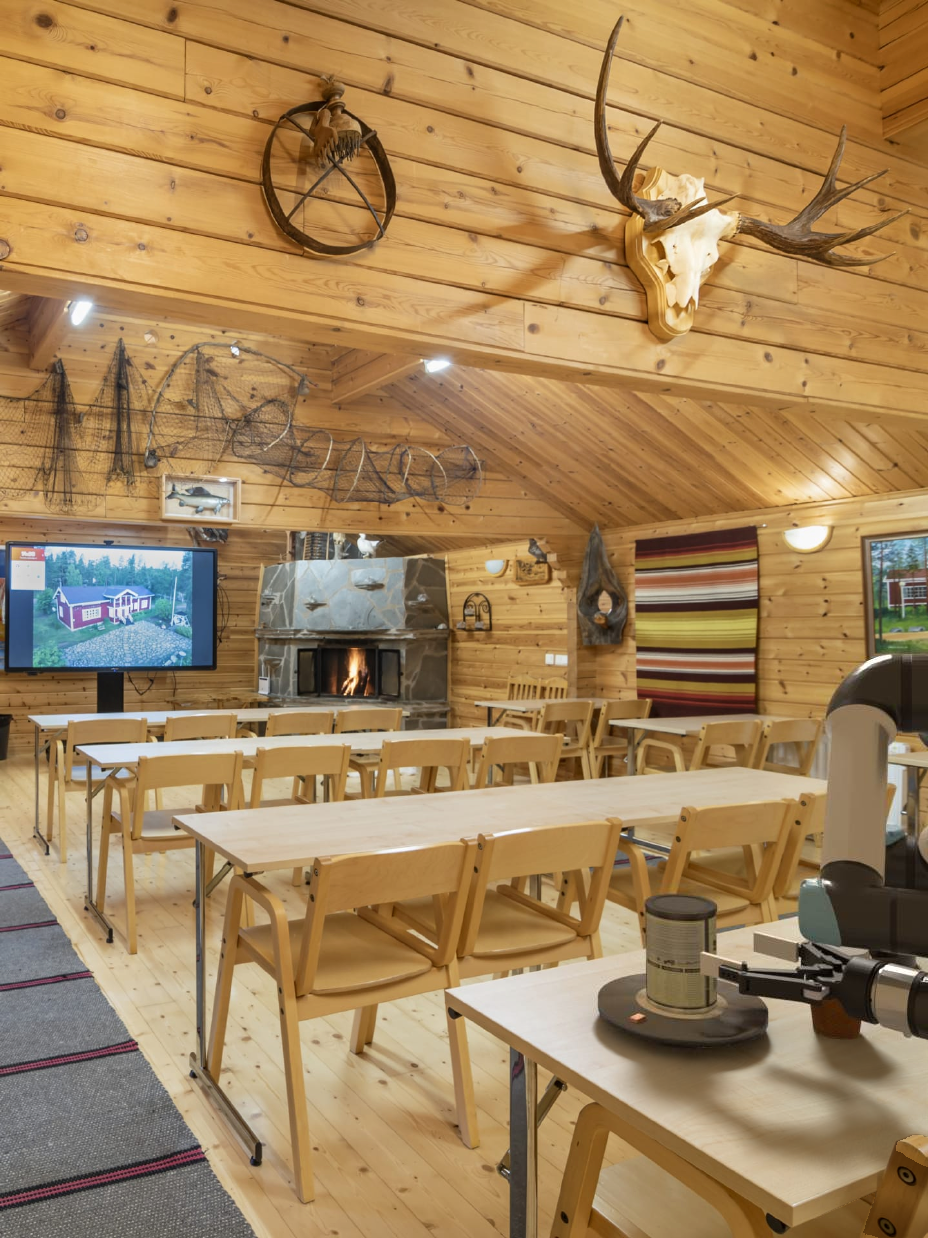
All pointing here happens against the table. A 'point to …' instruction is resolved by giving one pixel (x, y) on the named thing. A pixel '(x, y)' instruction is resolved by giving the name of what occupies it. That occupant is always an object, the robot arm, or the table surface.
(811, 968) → the robot arm
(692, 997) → the coffee can
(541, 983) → the table surface
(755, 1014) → the turntable platter
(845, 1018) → the disposable coffee cup
